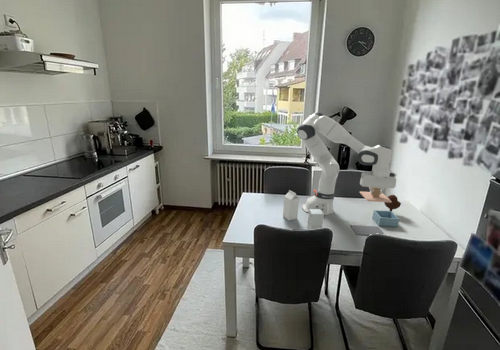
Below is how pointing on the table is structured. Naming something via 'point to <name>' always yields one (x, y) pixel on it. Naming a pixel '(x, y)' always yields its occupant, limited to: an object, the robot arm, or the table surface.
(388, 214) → the dish
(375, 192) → the lid
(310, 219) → the supplement box
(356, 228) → the mat
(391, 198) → the brown toy tree
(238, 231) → the table surface
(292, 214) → the milk carton
